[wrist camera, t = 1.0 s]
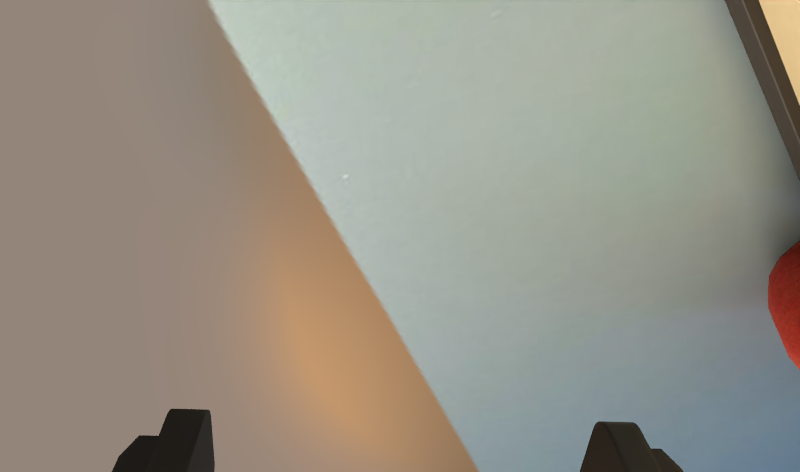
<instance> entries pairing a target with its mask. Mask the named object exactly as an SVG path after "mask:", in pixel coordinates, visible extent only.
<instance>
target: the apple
mask: <svg viewBox="0 0 800 472" xmlns="http://www.w3.org/2000/svg"><path fill="white" fill-rule="evenodd" d="M768 306H769V310H770V313H771V315H772V318H773V321H774V323H775V325H776V328H777V330H778V332H779V335H780V337H781V340H782V342H783V344H784V347H785V349H786V351H787V354H788V356H789V357H790V359H791V360H792V361H793V362H794V363H795V365H796V366H797V367H798V368H799V369H800V241H799V242H797V243H796V244H795V245H794V246H793V247H792V248H790V249H789V250H788V251H787V252H786V253H785V254H783V255H782V256H781V257H780V258H779V260H778V262H777V263H776V265H775V267H774V268H773V270H772V272H771V274H770V275H769V286H768Z"/></svg>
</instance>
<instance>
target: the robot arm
mask: <svg viewBox="0 0 800 472" xmlns="http://www.w3.org/2000/svg"><path fill="white" fill-rule="evenodd" d="M112 472H214V450H213V438H212V425H211V414H210V411H209V410H195V409H171V410H170V411H169V412H168V414H167V416H166V419H165V421H164V424H163V427H162V429H161V432H160V434H159V436H138V438H136V439H135V441H134V442H133V443H132V444H131V445H130V446H129V447H128V448H127V449H126V450H125V451H124V452H123V453H122V454H121V455H120V456H119V457H118V460H117V462H116V464H115V466H114V468H113V471H112ZM580 472H683V470H682V469H681V468H680V467H679V466H678V465H677V464H676V463H675V462H674V461H673V460H672V459H671V458H670V457H669V456H668V455H667V454H666V453H665V452H664V451H663V450H662V449H650V447H649V445H648V443H647V441H646V439H645V438H644V436H643V434H642V432H641V430H640V428H639V427H638V426H637V425H636V424H635V423H633V422H597V423H596V424H595V426H594V429H593V432H592V435H591V438H590V441H589V444H588V447H587V451H586V454H585V457H584V460H583V463H582V466H581V470H580Z"/></svg>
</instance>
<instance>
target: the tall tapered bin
mask: <svg viewBox="0 0 800 472" xmlns="http://www.w3.org/2000/svg"><path fill="white" fill-rule="evenodd" d="M725 2H726V4H727V6H728V9H729V11H730V14H731V16H732V18H733V21H734V23H735V26H736V28H737V30H738V33H739V35H740V38H741V40H742V42H743V45H744V47H745V50H746V52H747V54H748V57H749V59H750V62H751V64H752V67H753V69H754V71H755V74H756V76H757V79H758V81H759V83H760V86H761V88H762V91H763V93H764V95H765V98H766V100H767V103H768V105H769V107H770V110H771V112H772V115H773V117H774V119H775V122H776V124H777V127H778V129H779V131H780V134H781V136H782V139H783V141H784V143H785V146H786V148H787V151H788V153H789V156H790V158H791V160H792V163H793V165H794V168H795V170H796V172H797V175H798V177H799V180H800V0H725Z"/></svg>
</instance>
